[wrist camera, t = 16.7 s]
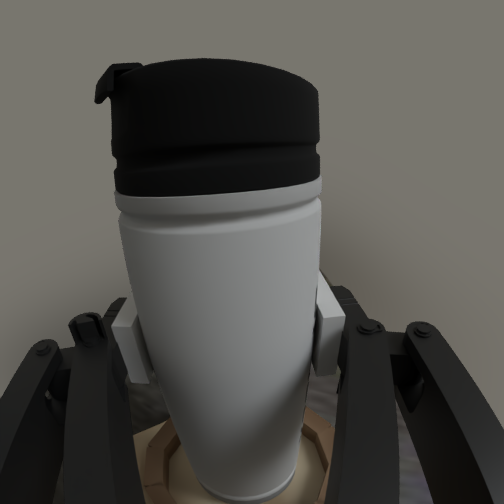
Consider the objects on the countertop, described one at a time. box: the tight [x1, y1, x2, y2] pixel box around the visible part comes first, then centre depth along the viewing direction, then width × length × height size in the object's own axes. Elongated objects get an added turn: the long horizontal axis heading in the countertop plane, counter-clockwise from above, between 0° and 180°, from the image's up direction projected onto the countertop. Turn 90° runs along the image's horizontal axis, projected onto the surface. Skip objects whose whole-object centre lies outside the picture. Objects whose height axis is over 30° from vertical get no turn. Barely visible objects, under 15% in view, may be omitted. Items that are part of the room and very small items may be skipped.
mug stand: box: [133, 407, 335, 504], centre depth 15 cm, size 14×14×2 cm
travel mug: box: [94, 58, 322, 504], centre depth 11 cm, size 6×7×20 cm
